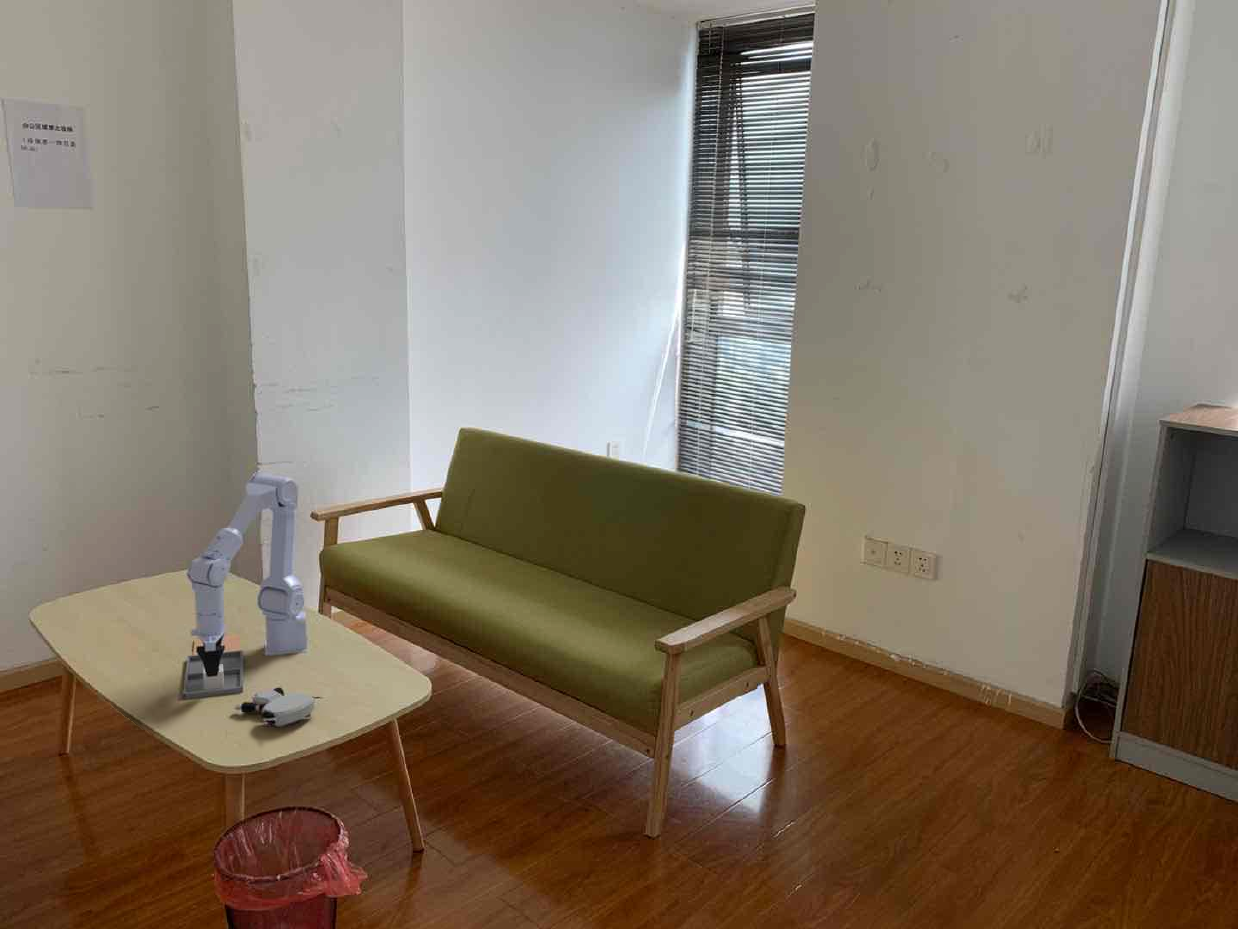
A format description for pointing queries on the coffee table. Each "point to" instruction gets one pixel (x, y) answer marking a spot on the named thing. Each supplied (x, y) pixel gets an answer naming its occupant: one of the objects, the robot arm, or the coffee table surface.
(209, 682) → the letter cube
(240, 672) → the sorting tray
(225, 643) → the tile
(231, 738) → the coffee table surface
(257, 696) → the robot toy
